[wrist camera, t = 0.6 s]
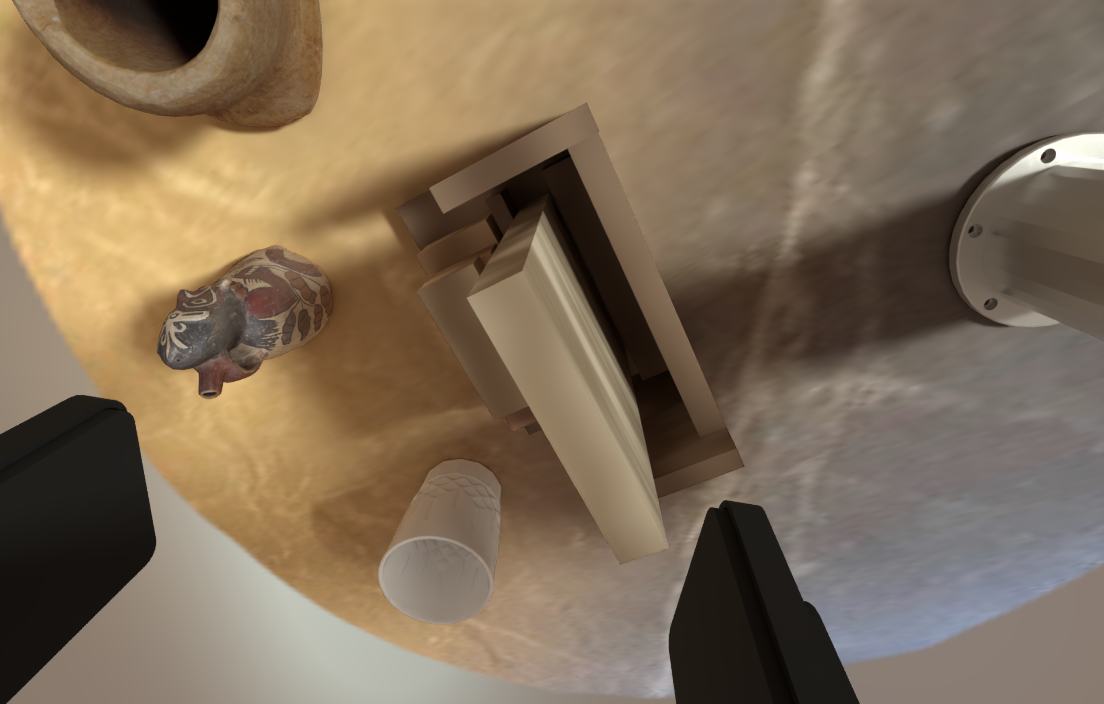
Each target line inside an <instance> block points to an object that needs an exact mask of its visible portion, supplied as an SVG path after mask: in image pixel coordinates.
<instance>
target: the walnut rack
mask: <svg viewBox="0 0 1104 704" xmlns="http://www.w3.org/2000/svg"><path fill="white" fill-rule="evenodd" d="M598 132H599V130H598V127H597V125H596V123H595V120H594V118H593V116H592V113H591V111H590V109H589V107H588V104H587V103H585V104H583V105H581V106H579V107H578V108H576V109H574V110H572V111H570V112H568V113H566V114H565V115H563V116H561V117H559V118H557V119H555V120H554V121H552V122H550V123H548V124H546V125H544V126H542V127H541V128H539V129H537V130H535V131H533V132H531V133H530V134H528V135H526V136H524V137H522V138H520V139H518V140H517V141H515V142H513V143H511V144H509V145H507V146H505V147H504V148H502V149H500V150H498V151H496V152H494V153H493V154H491V155H489V156H487V157H485V158H483V159H481V160H480V161H478V162H476V163H474V164H472V165H470V166H469V167H467V168H465V169H463V170H461V171H459V172H457V173H456V174H454V175H452V176H450V177H448V178H446V179H444V180H443V181H441V182H439V183H437V184H435V185H433V186H432V187H430V188H429V189H430V191H428V192H426V193H424V194H422V195H420V196H419V197H417V198H415V199H413V200H411V201H409V202H407V203H406V204H404V205H402V206H400V207H398V208H396V209H397V211H398V213H399V214H400V216H401V218H402V219H403V221H404V223H405V224H406V226H407V228H408V230H409V231H410V233H411V235H412V236H413V238H414V240H415V241H416V243H417V245H418V247H419V248H420V250H421V251H422V250H423V249H424V248H425V247H426V246H427V245H429V244H431V243H433V242H435V241H437V240H439V239H441V238H443V237H445V236H447V235H449V234H451V233H453V232H455V231H456V230H458V229H460V228H462V227H464V226H466V225H468V224H470V223H472V222H474V221H476V220H478V219H480V218H482V217H484V216H486V215H487V214H489V213H492V215H493V217H494V219H495V221H496V222H497V224H498V226H499V228H500V230H501V232H502V234H503V236H504V235H505V233H506V232H507V230H508V228H509V227H510V225H511V223H512V222H513V220H514V218H515V217H516V215H517V213H518V212H519V210H520V208H521V207H522V206H523V205H525V204H527V203H529V202H530V201H532V200H534V199H536V198H538V197H540V196H542V195H544V194H546V193H548V192H550V194H551V196H552V198H553V200H554V202H555V204H556V206H557V209H558V211H559V213H560V215H561V217H562V219H563V221H564V223H565V225H566V227H567V229H568V231H569V233H570V235H571V238H572V240H573V242H574V244H575V246H576V248H577V250H578V252H579V254H580V256H581V258H582V260H583V262H584V264H585V266H586V269H587V271H588V273H589V275H590V277H591V279H592V281H593V283H594V285H595V287H596V289H597V291H598V293H599V295H600V298H601V300H602V302H603V304H604V306H605V308H606V310H607V312H608V314H609V316H610V318H611V320H612V322H613V324H614V327H615V329H616V331H617V333H618V335H619V337H620V339H621V341H622V343H623V345H624V347H625V351H626V356H627V361H628V365H629V370H630V374H631V379H632V383H633V388H634V392H635V397H636V402H637V406H638V411H639V415H640V420H641V424H642V429H643V433H644V438H645V443H646V447H647V452H648V456H649V461H650V465H651V470H652V474H653V479H654V484H655V488H656V493H657V497H658V498H660V497H663V496H666V495H668V494H671V493H674V492H676V491H679V490H682V489H685V488H687V487H690V486H693V485H695V484H698V483H701V482H704V481H706V480H709V479H712V478H714V477H717V476H720V475H723V474H725V473H728V472H731V471H733V470H736V469H739V468H742V467H744V464H743V462H742V459H741V457H740V455H739V452H738V450H737V448H736V446H735V444H734V442H733V440H732V438H731V436H730V434H729V432H728V430H727V428H726V425H725V423H724V421H723V418H722V416H721V414H720V411H719V409H718V407H717V405H716V402H715V400H714V398H713V395H712V393H711V391H710V388H709V386H708V384H707V382H706V379H705V377H704V375H703V372H702V370H701V368H700V365H699V363H698V361H697V359H696V356H695V354H694V352H693V349H692V347H691V345H690V342H689V340H688V338H687V336H686V333H685V331H684V329H683V326H682V324H681V322H680V319H679V317H678V315H677V313H676V310H675V308H674V306H673V303H672V301H671V299H670V296H669V294H668V292H667V289H666V287H665V285H664V283H663V280H662V278H661V276H660V273H659V271H658V269H657V266H656V264H655V262H654V260H653V257H652V255H651V253H650V250H649V248H648V246H647V243H646V241H645V239H644V237H643V234H642V232H641V230H640V227H639V225H638V223H637V220H636V218H635V216H634V214H633V211H632V209H631V207H630V204H629V202H628V200H627V197H626V195H625V193H624V191H623V188H622V186H621V184H620V181H619V179H618V177H617V174H616V172H615V170H614V168H613V165H612V163H611V161H610V158H609V156H608V154H607V151H606V149H605V147H604V145H603V142H602V140H601V138H600V135H599V133H598ZM525 428H526V430H527V432H528V433H529V435H530V434H532V433H535V432H537V431H540V430H542V428H541V426H540V424H539V423H538V421H536V422H533V423H531V424H529V425H526V426H525Z"/></svg>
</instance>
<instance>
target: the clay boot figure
mask: <svg viewBox="0 0 1104 704" xmlns="http://www.w3.org/2000/svg"><path fill="white" fill-rule="evenodd" d="M12 1H13V3H14V5H15V6H16V8H17V10H18V11H19V13H20V15H21V16H22V18H23V19H24V21H25V22H26V24H27V25H28V27H29V28H30V29H31V31H32V32H33V33H34V34H35V35H36V36H37V37H38V39H39V40H40V41H41V42H42V43H43V45H44V46H45V47H46V48H47V50H48V51H49V52H50V53H51V55H52V56H53V57H54V58H55V59H56V60H57V61H58V62H59V63H60V64H61V65H62V66H63V67H64V68H66V69H67V70H68V71H69V72H70V73H71V74H72V75H73V76H75V77H76V78H77V79H79V80H80V81H82V82H83V83H84V84H86V85H87V86H89V87H90V88H91V89H93V90H94V91H96V92H98V93H100V94H102V95H104V96H106V97H108V98H109V99H111V100H113V101H115V102H117V103H119V104H121V105H123V106H126V107H129V108H132V109H136V110H139V111H143V112H147V113H151V114H156V115H162V116H172V117H178V116H193V115H200V114H206V115H209V116H211V117H214V118H217V119H219V120H223V121H227V122H232V123H236V124H240V125H248V126H261V127H266V126H281V125H286V124H289V123H291V122H292V121H293V120H295V119H296V118H301V117H304V116H306V115H308V114H310V112H311V111H312V109H313V108H314V106H315V104H316V102H317V99H318V95H319V90H320V83H321V76H322V52H323V42H322V27H321V16H320V8H319V0H12Z"/></svg>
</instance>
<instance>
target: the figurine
mask: <svg viewBox="0 0 1104 704" xmlns="http://www.w3.org/2000/svg"><path fill="white" fill-rule="evenodd" d="M332 307H333V304H332V294H331V287H330V283H329V281H328V279H327V277H326V275H325V274H324V272H323V271H322V269H321V268H320V267H319V266H317V265H315V264H313V263H312V262H311V261H309V260H308V259H307V258H305V257H303V256H300V255H298V254H296V253H291V252H290V251H289V250H287V249H286V248H284V247H281V246H277V245H274V246H271V247H269V248H266V249H261V250H256V251H254V252H252V253H251V254H250V255H248V256H246V257H244V258H243V259H241V260H240V261H239V262H237V263H236V264H235V265H233V266H232V268H231V269H230V270H229V271H227V272H226V274H225V275H224V276H223V277H221V278H220V279H219V280H217V281H216V282H215V283H214V284H213V285H209V286H203V287H201V288H199V289H198V290H197V291H194V292H191V291H188V290H180V291H179V293H178V298H177V306H176V308H175V309H174V310H173V311H172V312H170V313H169V315H168V317H167V318H166V320H165V322H164V324H163V326H162V329H161V332H160V335H159V339H158V344H157V353H158V354H159V355H160V357H161V359H162V361H163V362H164V363H165V364H166V365H167V366H169V367H170V368H172V369H177V370H185V369H190V368H194V369H195V370H196V371H197V372H198V373H199V395H200V396H201V397H203V398H206V399H213V398H216V397H217V396H219V395H220V394H221V392H222V387H223V382H226V383H229V382H234V381H238V380H241V379H244V378H246V377H249V376H251V375H252V374H254V373H255V372H256V371H257V370H258V369H259V367H260V365H261V364H262V362H263V360H267V359H272V358H275V357H278V356H280V355H283V354H285V353H287V352H289V351H291V350H294V349H296V348H298V347H300V346H302V345H304V344H305V343H307V342H308V341H310V340H311V339H312V338H313V337H314V336H316V335H317V334H318V333H320V331H321V330H322V329H323V327H324V326H325V324H326V323H327V321H328V320H329V317H330V314H331V311H332Z"/></svg>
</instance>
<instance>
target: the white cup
mask: <svg viewBox="0 0 1104 704" xmlns="http://www.w3.org/2000/svg"><path fill="white" fill-rule="evenodd" d="M501 503H502V495H501V485H500V484H499V482H498V480H497V479H496V477H495V475H494V473H493V472H491V471H490V470H488V469H487V468H486V467H484V466H483V465H481V464H480V463H478V462H474V461H469V460H465V459H455V460H448V461H443V462H442V463H440V464H439V465H437V466H436V467H434V468H433V469H431V470H430V471H429V472H428V474H427V476H426V478H425V480H424V482H423V484H422V486H421V488H420V490H419V491H418V493H417V494H416V495H415V496H414V498H413V500H412V502H411V504H410V505H409V507H408V509H407V511H406V513H405V515H404V516H403V518H402V520H401V522H400V524H399V527H398V529H397V531H396V533H395V535H394V537H393V539H392V540H391V542H390V544H389V546H388V548H387V550H386V552H385V554H384V556H383V558H382V560H381V562H380V565H379V570H378V580H379V585H380V588H381V590H382V592H383V594H384V595H385V597H386V598H387V600H388V601H389V602H390V603H391V604H392V605H393V606H394V607H395V608H396V609H398V610H399V611H400V612H402V613H404V614H405V615H407V616H409V617H411V618H414V619H416V620H419V621H422V622H427V623H432V624H453V623H458V622H462V621H465V620H468V619H470V618H472V617H474V616H475V615H477V614H478V613H480V612H481V611H482V610H483V609H484V608H485V607H486V605H487V604H488V602H489V601H490V599H491V596H492V593H493V586H494V578H495V569H496V561H497V553H498V545H499V532H500V521H501V514H500V511H501Z"/></svg>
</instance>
